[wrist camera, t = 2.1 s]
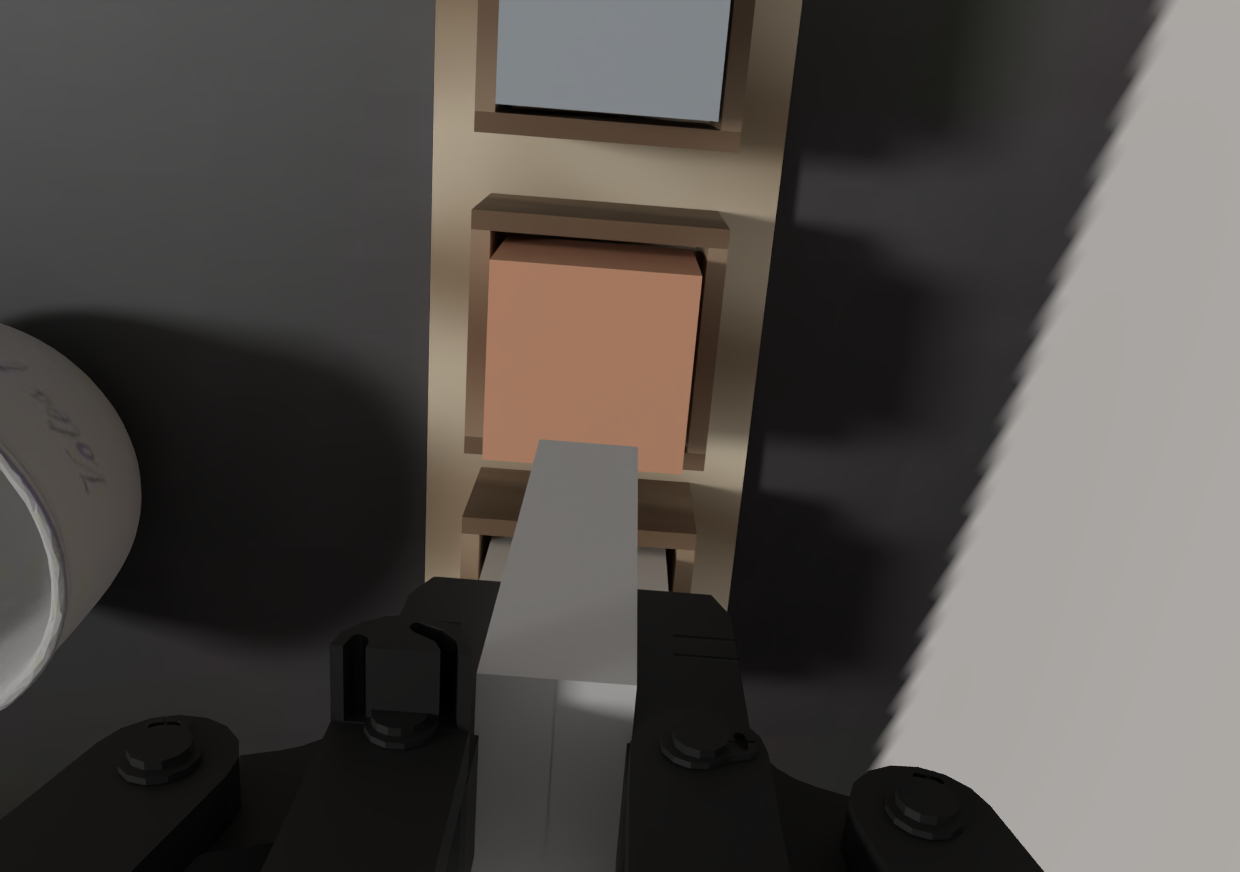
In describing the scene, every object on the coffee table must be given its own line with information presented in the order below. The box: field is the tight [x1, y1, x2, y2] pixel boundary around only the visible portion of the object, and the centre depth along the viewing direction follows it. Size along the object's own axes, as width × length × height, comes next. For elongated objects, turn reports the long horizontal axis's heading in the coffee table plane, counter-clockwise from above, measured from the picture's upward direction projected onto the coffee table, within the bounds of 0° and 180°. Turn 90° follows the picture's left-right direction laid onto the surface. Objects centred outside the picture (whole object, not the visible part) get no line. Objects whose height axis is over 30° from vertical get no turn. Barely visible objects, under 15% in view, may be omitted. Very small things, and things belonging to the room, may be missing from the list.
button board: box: [425, 0, 802, 611], centre depth 30 cm, size 26×10×4 cm, turn 176°
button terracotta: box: [482, 235, 702, 475], centre depth 27 cm, size 5×5×4 cm
